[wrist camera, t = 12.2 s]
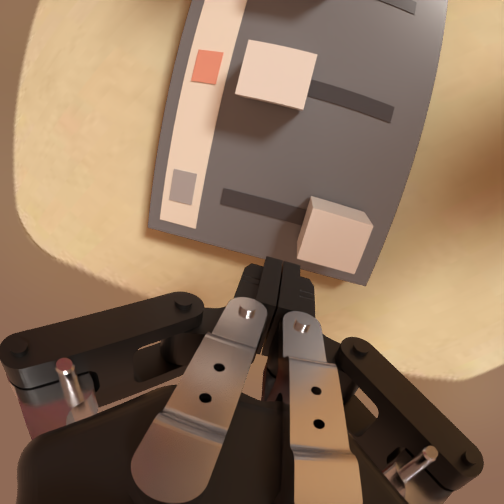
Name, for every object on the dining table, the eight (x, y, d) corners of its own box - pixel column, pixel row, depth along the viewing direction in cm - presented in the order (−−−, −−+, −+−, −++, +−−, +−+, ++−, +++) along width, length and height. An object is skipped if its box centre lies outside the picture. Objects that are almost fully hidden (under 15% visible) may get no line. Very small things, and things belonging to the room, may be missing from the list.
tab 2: (364, 211, 21) (373, 226, 18) (348, 255, 23) (354, 274, 20) (310, 195, 21) (313, 207, 19) (297, 240, 23) (297, 258, 20)
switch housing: (437, -6, 15) (450, -16, 12) (360, 271, 26) (366, 287, 24) (225, -60, 15) (218, -75, 13) (159, 217, 27) (146, 228, 24)
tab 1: (314, 63, 17) (317, 54, 15) (302, 111, 19) (303, 109, 16) (255, 49, 18) (248, 39, 15) (243, 97, 19) (235, 93, 16)
